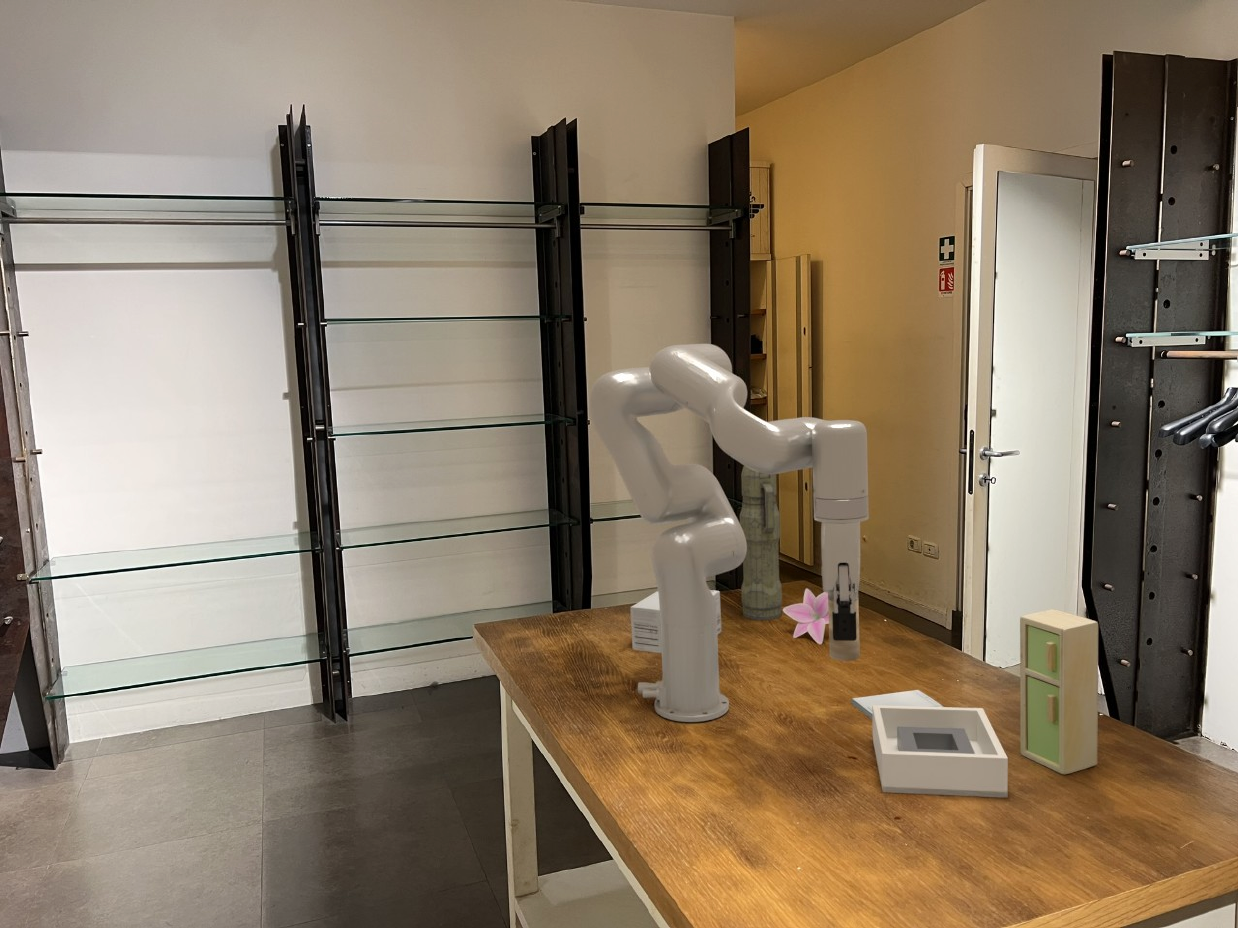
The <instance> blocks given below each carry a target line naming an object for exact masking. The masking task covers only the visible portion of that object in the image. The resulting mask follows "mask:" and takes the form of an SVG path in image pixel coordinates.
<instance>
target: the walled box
mask: <svg viewBox="0 0 1238 928" xmlns="http://www.w3.org/2000/svg"><path fill="white" fill-rule="evenodd" d="M872 710H873V720H872V742H873V748H874V754H875V759H876V764H877V769H878V774H879V779H880V785H881V789H882V790H881V791H882V793H893V794H895V793H897V794H915V795H916V794H917V795H939V796H958V797H959V796H961V797H962V796H963V797H979V798H980V797H985V798H1001V799H1003V798H1006V799H1008V787H1009V786H1008V778H1009V777H1008V776H1009V775H1008V774H1009V768H1008V765H1009V764H1008V763H1009V760H1008V759H1009V758H1008V756H1007V754H1006V752H1005V750H1004V748H1003V746H1002V744H1001V742H1000V740H999V737H998V736H997V734H996V732H995V730H994V728H993V726H992V724H991V722H990V720H989V718H988V716H987V714H986V711H985V710H984V708H983V707H979V708H978V707H955V706H953V707H951V706H950V707H949V706H948V707H946V706H943V707H920V706H884V705H872Z"/></svg>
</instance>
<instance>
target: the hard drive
mask: <svg viewBox="0 0 1238 928" xmlns="http://www.w3.org/2000/svg"><path fill="white" fill-rule="evenodd" d="M850 703H851V705H852V706H854V707H855V708H856V709H857V708H858V709H857V710H858V711H860V712H861V713H862V714H864V715H865V716H866V717H868V718H869V719H870V720H871V721H873V710H872V705H884V706H920V707H944V706H943V704H940V702H938V701H936V700H935V699H933V698H932V697H930V696H928V695H927V694H925V693H924V692H923V691H921V690H919V689H914V690H907V691H899V692H892V693H883V694H877V695H868V696H862V697H853V698H851V699H850Z"/></svg>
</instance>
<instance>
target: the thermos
mask: <svg viewBox="0 0 1238 928" xmlns="http://www.w3.org/2000/svg"><path fill="white" fill-rule="evenodd" d="M740 476H741V479H740V480H741V496H742V502H741V506H742V507H741V510H740V513H739V523H740V525H741V527H742V530H743V532H744V535H745V538H746V544H747V552H746V556H745V559H744V561H743V562H742V566H743V567H742V568H743V569H742V570H743V572H742V573H743V581H742V583H741V604H742V615H743V617H744V618H747V619H749V620H754V621H771V620H776V619H779V618H780V617H782V612H783V610H782V604H783V591H782V589H783V588H782V587H783V586H782V585H783V584H782V582H781V581H780V564H779V563H780V562H779V561H780V560H779V556H780V555H779V541H780V538H781V515H780V511H779V509H778V506H777V505H778V504H777V503H778V501H777V493H778V492H777V474H774V475H767V474H762V473H759V472H756V471H754V470H752V469H750V468H748V467H746V466H744V465H743V467H742V471H741V474H740Z"/></svg>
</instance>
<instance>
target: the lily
mask: <svg viewBox="0 0 1238 928" xmlns="http://www.w3.org/2000/svg"><path fill="white" fill-rule="evenodd" d="M803 593H804V595H803V602H800V603H799V602H798V603H793V604H790V605H788V606H785V607H783V608H782V612H783V613H785V615H787V616H788V617H790V618H791V619H793V620H794V621H796V622H798V623H797V624H796V627H795V629H794V632H793V636H792V638H794V639H796V638H798V637H800V636H802V635H804V634H805V633H808V634H809V635H810V637H811V638H812V639H813V640H814V641H815V642H816V643H817V644H818V645H822V644H823V642H824V636H825V629H826V625H829V615H828V593H826V592H825V591H823V592H822V593H820V594H818V595H817V596H815V595H814V593H813V592H812V591H811V589H809V588H805V589H804V592H803Z"/></svg>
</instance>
